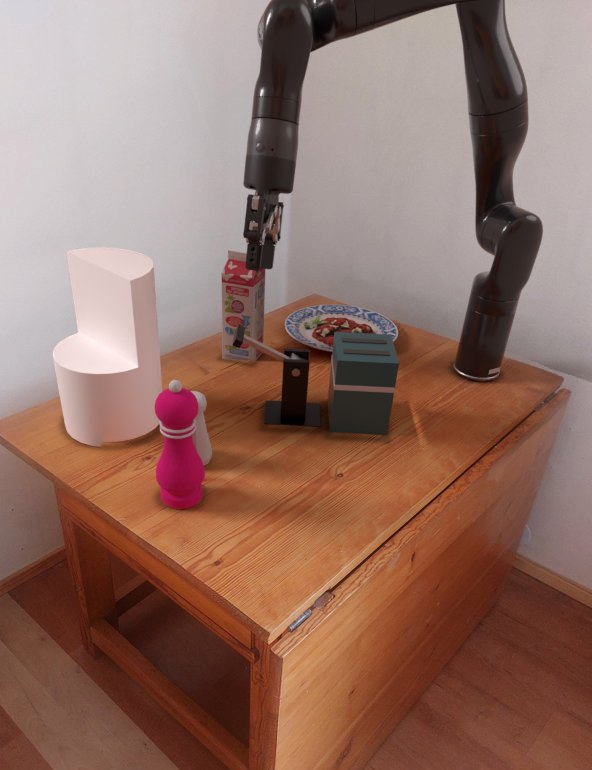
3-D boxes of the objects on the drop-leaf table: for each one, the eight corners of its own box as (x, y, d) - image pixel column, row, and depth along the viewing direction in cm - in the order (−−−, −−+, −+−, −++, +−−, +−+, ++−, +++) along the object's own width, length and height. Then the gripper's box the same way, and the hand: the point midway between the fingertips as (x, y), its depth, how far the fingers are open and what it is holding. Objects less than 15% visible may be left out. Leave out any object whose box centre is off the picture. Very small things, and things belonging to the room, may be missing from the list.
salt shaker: (170, 469, 102) (165, 399, 95) (187, 450, 106) (183, 382, 99) (202, 479, 100) (200, 408, 93) (218, 459, 105) (217, 390, 97)
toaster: (328, 437, 111) (336, 360, 103) (325, 404, 121) (333, 330, 112) (387, 440, 111) (400, 363, 103) (380, 406, 121) (392, 333, 112)
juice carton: (234, 346, 139) (234, 245, 127) (262, 352, 138) (266, 250, 125) (222, 359, 134) (221, 255, 121) (251, 365, 132) (253, 260, 120)
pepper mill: (213, 488, 99) (210, 373, 87) (193, 516, 93) (188, 398, 82) (171, 477, 100) (163, 364, 89) (149, 504, 95) (137, 387, 83)
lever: (230, 347, 105) (237, 336, 104) (233, 332, 110) (240, 321, 109) (299, 381, 108) (306, 371, 107) (299, 365, 113) (306, 354, 112)
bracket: (264, 429, 113) (266, 364, 105) (266, 405, 119) (268, 343, 112) (320, 432, 113) (326, 367, 105) (319, 408, 119) (325, 346, 112)
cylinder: (127, 385, 123) (111, 240, 107) (184, 421, 114) (176, 267, 98) (46, 418, 113) (15, 262, 97) (101, 459, 103) (77, 295, 87)
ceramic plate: (418, 337, 147) (421, 325, 145) (349, 373, 131) (351, 360, 129) (332, 304, 161) (333, 293, 159) (261, 333, 145) (261, 321, 144)
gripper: (286, 152, 87) (272, 274, 92) (304, 165, 100) (291, 271, 105) (233, 147, 88) (223, 267, 93) (258, 160, 101) (247, 265, 107)
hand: (259, 269), depth 99 cm, fingers open, 8 cm apart
